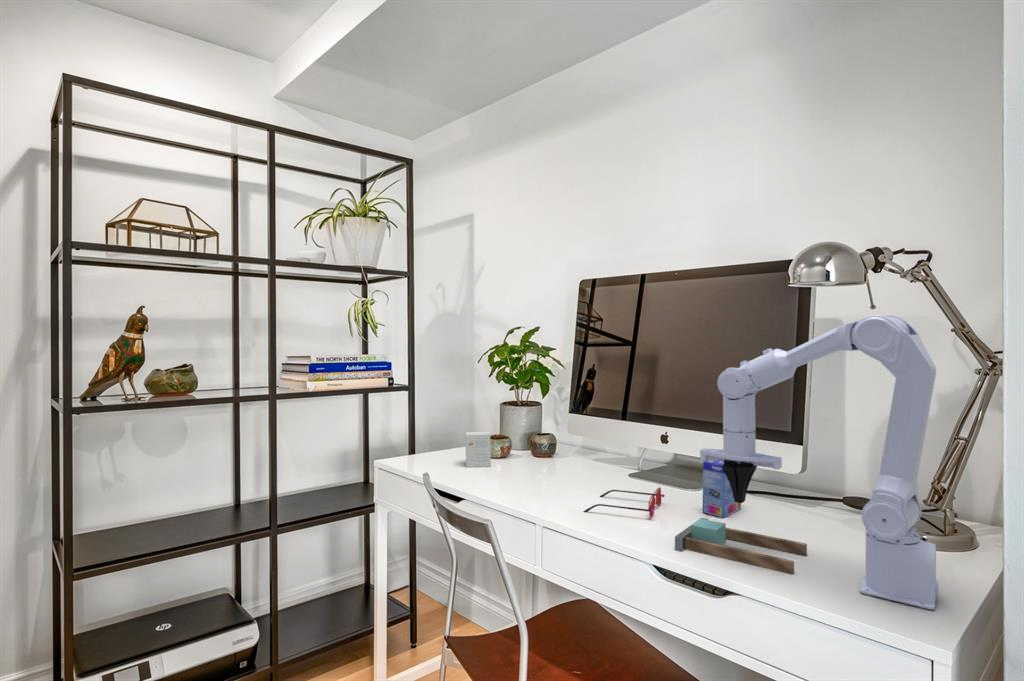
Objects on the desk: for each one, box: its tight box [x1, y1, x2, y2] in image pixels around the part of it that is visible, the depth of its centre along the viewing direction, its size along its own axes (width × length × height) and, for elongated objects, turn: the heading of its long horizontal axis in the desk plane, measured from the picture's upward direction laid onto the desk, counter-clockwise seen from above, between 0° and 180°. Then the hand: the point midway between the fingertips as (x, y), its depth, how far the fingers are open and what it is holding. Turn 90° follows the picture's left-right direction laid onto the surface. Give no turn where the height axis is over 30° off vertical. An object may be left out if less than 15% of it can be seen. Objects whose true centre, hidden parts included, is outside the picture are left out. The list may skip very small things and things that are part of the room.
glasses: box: [582, 487, 666, 518], centre depth 135 cm, size 14×16×5 cm
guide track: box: [685, 527, 808, 575], centre depth 107 cm, size 19×11×2 cm, turn 51°
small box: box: [464, 430, 492, 468], centre depth 181 cm, size 8×6×10 cm
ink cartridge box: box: [702, 459, 742, 519], centre depth 131 cm, size 10×6×14 cm, turn 135°
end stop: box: [674, 517, 709, 552], centre depth 113 cm, size 2×14×2 cm, turn 141°
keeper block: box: [690, 518, 727, 545], centre depth 111 cm, size 5×5×4 cm
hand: (739, 501), depth 107 cm, fingers closed
